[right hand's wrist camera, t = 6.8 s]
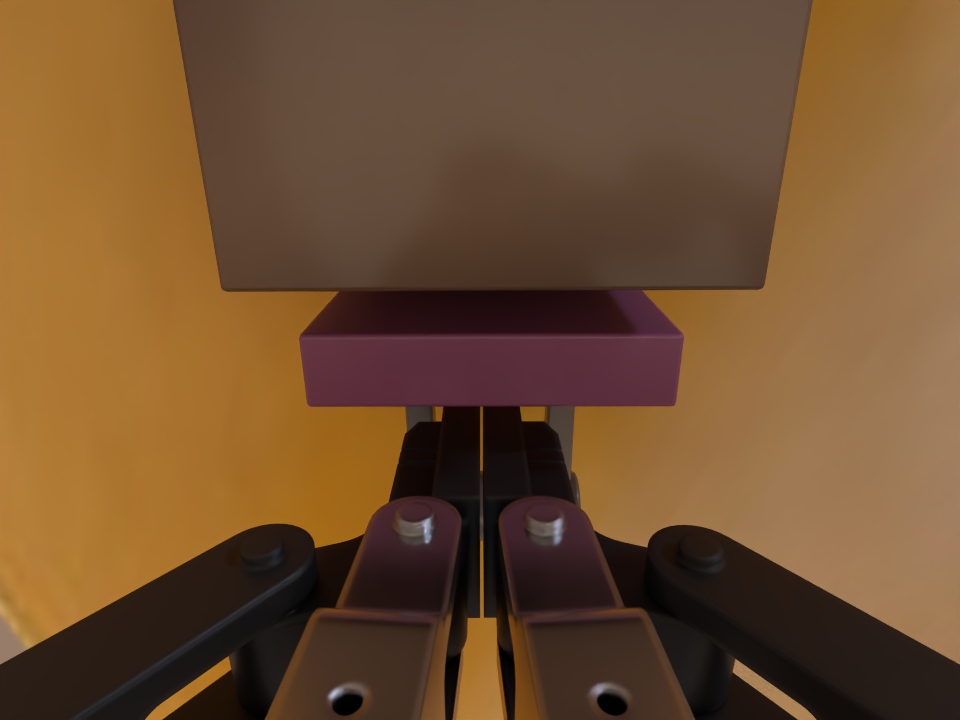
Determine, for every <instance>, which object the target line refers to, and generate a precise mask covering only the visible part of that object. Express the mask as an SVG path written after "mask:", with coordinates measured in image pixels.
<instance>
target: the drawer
mask: <svg viewBox="0 0 960 720" xmlns="http://www.w3.org/2000/svg"><path fill="white" fill-rule="evenodd" d="M299 340H300V348H301V356H302V364H303V372H304V381H305V389H306V397H307V403H308V405H309V406H311V407H375V406H406V421H407V432H408V431H409V430H410V429H411V428H412V427H413V426H414V425H415V424H416V423H418V422H436V417H435V406H545V422H546V423H547V424H548V425H549V426H550V427H551V428H552V429H553V430H554V431H555V432H557V433H558V435H559V439H560V443H561V447H562V451H563V455H564V459H565V464H566V467H567V471H568V475H569V479H570V483H571V487H572V491H573V495H574V499H575V503H576V506H578V507H579V508H581V505H580V491H579V484H578V479H577V476H576V474H575V472H573V471H571V464H572V446H573V428H574V410H575V406H674V405H675V403H676V397H677V388H678V380H679V372H680V364H681V356H682V348H683V340H684V336H683V333H682V332H681V331H680V330H679V329H678V328H677V327H676V326H675V325H674V324H673V323H672V322H671V321H670V320H669V319H668V317H667V316H666V315H665V314H664V313H663V312H662V311H661V310H660V309H659V308H658V307H657V306H656V305H655V304H654V303H653V302H652V300H651V299H650V298H649V297H648V296H647V295H646V294H645V293H644V292H643V291H642V290H538V291H339V292H338V293H337V295H336V296H335V297H334V298H333V299H332V300H331V301H330V302H329V303H328V305H327V306H326V307H325V308H324V309H323V310H322V311H321V312H320V313H319V315H318V316H317V317H316V318H315V319H314V320H313V321H312V322H311V323H310V325H309V326H308V327H307V328H306V329H305V330H304V331H303V332H302V333H301V335H300V337H299ZM480 541H483V471H480Z"/></svg>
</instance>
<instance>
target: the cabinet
mask: <svg viewBox="0 0 960 720" xmlns="http://www.w3.org/2000/svg"><path fill="white" fill-rule="evenodd" d="M173 4H174V10H175V16H176V22H177V28H178V34H179V40H180V46H181V51H182V57H183V63H184V69H185V75H186V81H187V87H188V93H189V99H190V105H191V111H192V117H193V123H194V129H195V135H196V141H197V146H198V152H199V158H200V164H201V170H202V176H203V182H204V188H205V194H206V200H207V206H208V212H209V218H210V224H211V230H212V235H213V241H214V247H215V253H216V259H217V265H218V271H219V277H220V283H221V288H222V290H224V291H227V292H277V291H538V290H758V289H761V288H763V286H764V283H765V278H766V272H767V266H768V260H769V254H770V248H771V242H772V236H773V230H774V224H775V219H776V213H777V207H778V201H779V195H780V189H781V183H782V177H783V171H784V166H785V160H786V154H787V148H788V142H789V136H790V130H791V124H792V118H793V112H794V107H795V101H796V95H797V89H798V83H799V77H800V71H801V65H802V59H803V53H804V48H805V42H806V36H807V30H808V24H809V18H810V12H811V6H812V0H173Z"/></svg>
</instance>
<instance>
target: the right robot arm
mask: <svg viewBox="0 0 960 720" xmlns="http://www.w3.org/2000/svg"><path fill="white" fill-rule="evenodd" d="M483 559H484V618H497V668H498V676H499V684H500V693H501V701H502V709H503V717H504V720H797V719H796V718H795V717H793V716H792V715H790V714H789V713H788V712H786V711H785V710H784V709H782V708H781V707H779V706H778V705H777V704H775V703H774V702H773V701H771V700H770V699H768V698H767V697H766V696H764V695H763V694H762V693H760V692H759V691H757V690H756V689H755V688H753V687H752V686H751V685H749V684H748V683H746V682H745V681H744V680H742V679H741V678H740V677H738V676H737V675H735V674H734V673H733V667H734V663H735V659H737V660H738V661H740V662H741V663H742V664H744V665H745V666H747V667H748V668H749V669H751V670H752V671H754V672H755V673H757V674H758V675H759V676H761V677H762V678H764V679H765V680H766V681H768V682H769V683H771V684H772V685H774V686H775V687H776V688H778V689H779V690H781V691H782V692H784V693H785V694H786V695H788V696H789V697H791V698H792V699H793V700H795V701H796V702H798V703H799V704H801V705H802V706H803V707H804V708H806V709H807V710H808V711H809V712H810V713H811V714H812V715H813V716H814V717H815V718H816V719H817V720H960V664H958V663H956V662H954V661H952V660H950V659H949V658H947V657H945V656H943V655H941V654H940V653H938V652H936V651H934V650H932V649H930V648H929V647H927V646H925V645H923V644H921V643H920V642H918V641H916V640H914V639H912V638H910V637H909V636H907V635H905V634H903V633H901V632H900V631H898V630H896V629H894V628H892V627H891V626H889V625H887V624H885V623H883V622H881V621H880V620H878V619H876V618H874V617H872V616H871V615H869V614H867V613H865V612H863V611H861V610H860V609H858V608H856V607H854V606H852V605H851V604H849V603H847V602H845V601H843V600H841V599H840V598H838V597H836V596H834V595H832V594H831V593H829V592H827V591H825V590H823V589H821V588H820V587H818V586H816V585H814V584H812V583H811V582H809V581H807V580H805V579H803V578H802V577H800V576H798V575H796V574H794V573H792V572H791V571H789V570H787V569H785V568H783V567H782V566H780V565H778V564H776V563H774V562H772V561H771V560H769V559H767V558H765V557H763V556H762V555H760V554H758V553H756V552H754V551H752V550H751V549H749V548H747V547H745V546H743V545H742V544H740V543H738V542H736V541H734V540H732V539H731V538H729V537H727V536H725V535H723V534H721V533H719V532H716V531H713V530H711V529H707V528H704V527H699V526H692V525H676V526H669V527H666V528H663V529H661V530H659V531H657V532H656V533H655V534H654V535H653V536H652V537H651V538H650V540H649V543H648V548H647V547H642V546H638V545H633V544H629V543H624V542H620V541H617V540H613V539H611V538H608V537H606V536H604V535H602V534H600V533H598V532H596V531H595V530H594V529H593V526H592V524H591V521H590V519H589V517H588V516H587V514H586V513H585V512H584V511H583V510H582V509H581V508H579V507H578V506H576V503H575V499H574V495H573V491H572V487H571V483H570V479H569V475H568V471H567V467H566V464H565V459H564V455H563V451H562V447H561V443H560V439H559V435H558V433H557V432H555V431H554V430H553V429H552V428H551V427H550V426H549V425H548V424H547V423H546V422H545V421H522V420H521V413H520V406H483ZM468 618H480V406H444V407H443V415H442V422H418V423H416V424H415V425H414V426H413V427H412V428H411V429H410V430H409V431H408V432H407V433H406V434H405V437H404V441H403V445H402V452H401V453H400V457H399V464H398V466H397V470H396V474H395V478H394V482H393V486H392V490H391V495H390V499H389V503H387V504H385V505H384V506H382V507H381V508H379V509H378V510H377V511H376V512H375V513H374V514H373V516H372V517H371V519H370V521H369V524H368V526H367V529H366V531H365V534H363V535H361V536H359V537H357V538H354V539H351V540H349V541H345V542H341V543H337V544H332V545H328V546H323V547H319V548H315V545H314V541H313V538H312V537H311V535H310V534H309V533H308V532H307V531H305V530H304V529H302V528H300V527H297V526H294V525H288V524H268V525H262V526H258V527H254V528H251V529H248V530H245V531H243V532H241V533H239V534H237V535H235V536H233V537H231V538H229V539H228V540H226V541H224V542H222V543H220V544H218V545H217V546H215V547H213V548H211V549H209V550H208V551H206V552H204V553H202V554H200V555H198V556H197V557H195V558H193V559H191V560H189V561H188V562H186V563H184V564H182V565H180V566H178V567H177V568H175V569H173V570H171V571H169V572H168V573H166V574H164V575H162V576H160V577H159V578H157V579H155V580H153V581H151V582H149V583H148V584H146V585H144V586H142V587H140V588H139V589H137V590H135V591H133V592H131V593H129V594H128V595H126V596H124V597H122V598H120V599H119V600H117V601H115V602H113V603H111V604H109V605H108V606H106V607H104V608H102V609H100V610H99V611H97V612H95V613H93V614H91V615H89V616H88V617H86V618H84V619H82V620H80V621H79V622H77V623H75V624H73V625H71V626H70V627H68V628H66V629H64V630H62V631H60V632H59V633H57V634H55V635H53V636H51V637H50V638H48V639H46V640H44V641H42V642H40V643H39V644H37V645H35V646H33V647H31V648H30V649H28V650H26V651H24V652H22V653H21V654H19V655H17V656H15V657H13V658H11V659H10V660H8V661H6V662H4V663H2V664H1V665H0V720H145V719H146V718H147V716H148V715H149V714H150V713H151V712H152V711H153V710H154V709H155V708H156V707H157V706H159V705H160V704H161V703H162V702H164V701H165V700H167V699H168V698H169V697H171V696H172V695H174V694H175V693H177V692H178V691H179V690H181V689H182V688H184V687H185V686H186V685H188V684H189V683H191V682H192V681H194V680H195V679H196V678H198V677H199V676H201V675H202V674H203V673H205V672H206V671H208V670H209V669H211V668H212V667H213V666H215V665H216V664H218V663H219V662H220V661H222V660H223V659H225V658H226V657H228V656H229V660H230V665H231V669H232V670H230V671H229V672H227V673H226V674H225V675H223V676H222V677H220V678H219V679H218V680H216V681H215V682H214V683H212V684H211V685H209V686H208V687H207V688H205V689H204V690H203V691H201V692H200V693H198V694H197V695H196V696H194V697H193V698H192V699H190V700H189V701H187V702H186V703H185V704H183V705H182V706H181V707H179V708H178V709H176V710H175V711H174V712H172V713H171V714H170V715H168V716H167V717H165V718H164V719H163V720H456V717H457V709H458V701H459V693H460V684H461V676H462V668H463V647H464V645H465V642H466V639H467V621H468Z"/></svg>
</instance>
